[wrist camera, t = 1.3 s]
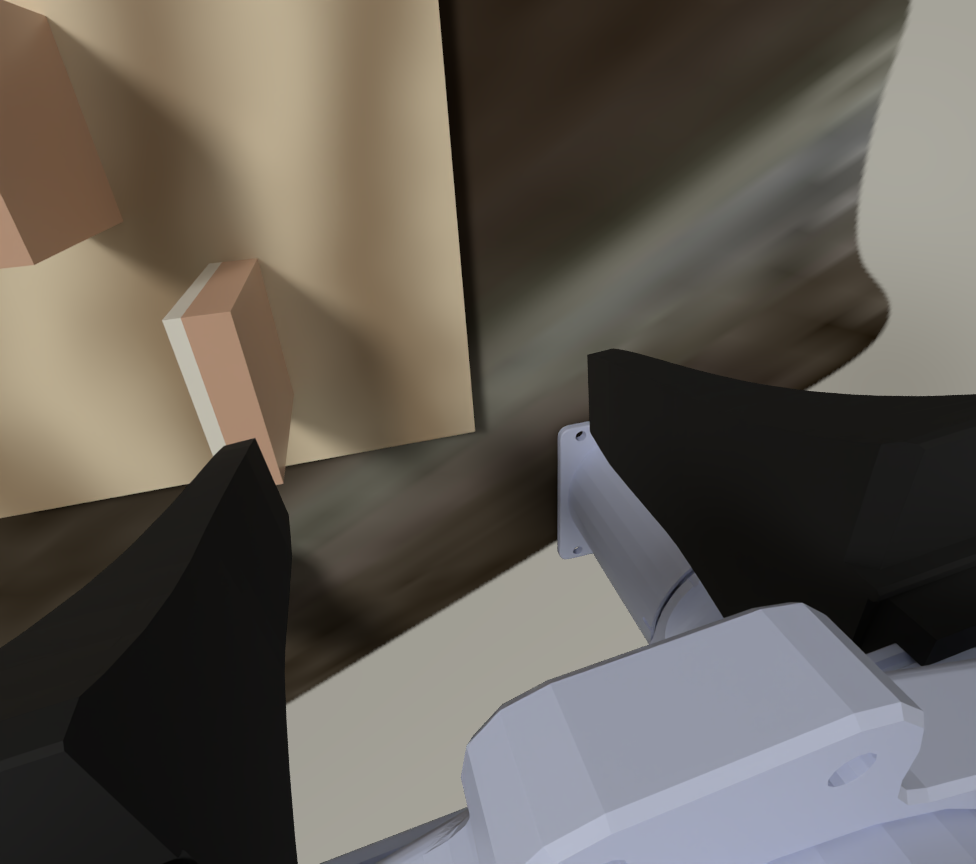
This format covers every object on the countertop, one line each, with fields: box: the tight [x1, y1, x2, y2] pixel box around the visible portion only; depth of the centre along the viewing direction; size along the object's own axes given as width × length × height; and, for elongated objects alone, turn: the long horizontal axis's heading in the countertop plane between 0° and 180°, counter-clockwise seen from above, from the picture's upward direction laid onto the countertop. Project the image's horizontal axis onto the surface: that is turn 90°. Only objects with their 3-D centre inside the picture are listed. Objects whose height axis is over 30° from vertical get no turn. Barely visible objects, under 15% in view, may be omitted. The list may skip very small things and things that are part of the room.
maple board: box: [0, 0, 475, 518], centre depth 18 cm, size 18×16×1 cm
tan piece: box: [0, 0, 123, 269], centre depth 13 cm, size 2×5×6 cm, turn 3°
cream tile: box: [162, 258, 294, 485], centre depth 17 cm, size 2×5×6 cm, turn 4°
